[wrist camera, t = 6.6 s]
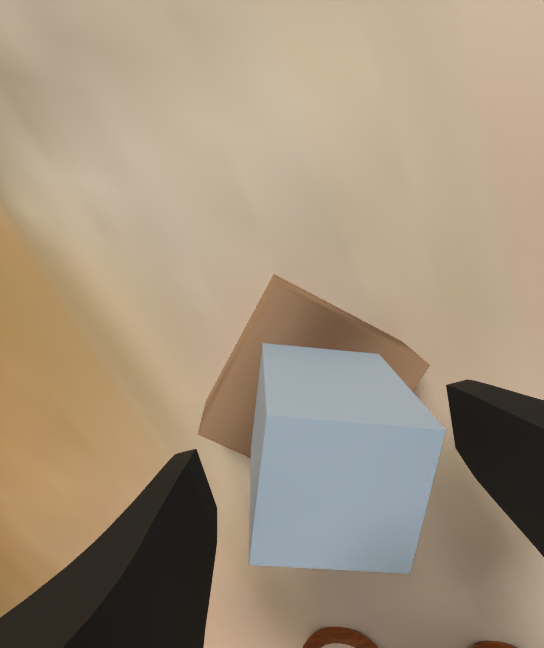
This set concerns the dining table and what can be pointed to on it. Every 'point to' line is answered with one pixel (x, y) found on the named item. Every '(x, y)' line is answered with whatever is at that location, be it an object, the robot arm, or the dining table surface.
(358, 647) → the glasses
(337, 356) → the slate cube
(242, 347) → the walnut slab
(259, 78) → the dining table surface
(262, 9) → the dining table surface
